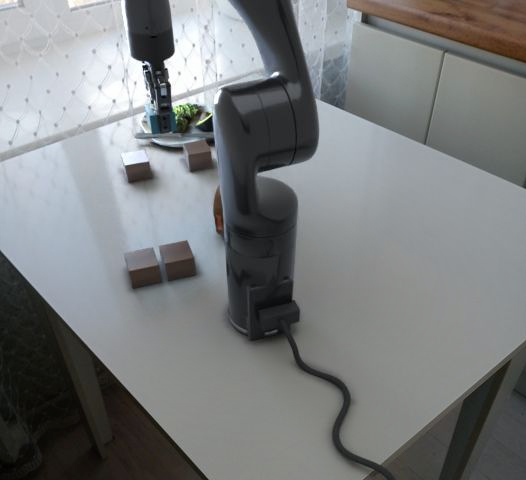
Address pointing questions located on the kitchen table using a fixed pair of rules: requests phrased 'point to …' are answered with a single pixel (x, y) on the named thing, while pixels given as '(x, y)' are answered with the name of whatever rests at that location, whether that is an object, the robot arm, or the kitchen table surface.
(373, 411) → the kitchen table surface
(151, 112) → the letter S
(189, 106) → the salad plate
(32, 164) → the kitchen table surface
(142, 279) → the brown wooden block pair
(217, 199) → the tin
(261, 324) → the robot arm
